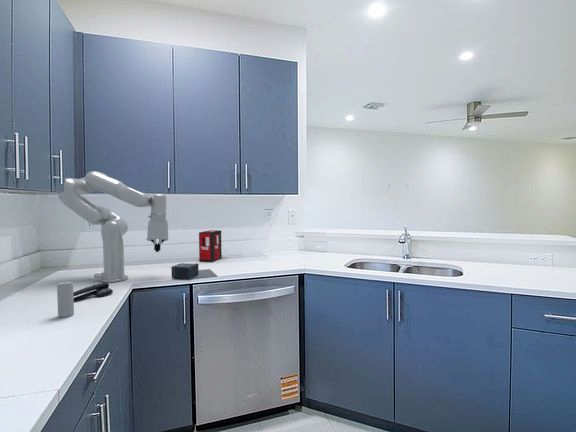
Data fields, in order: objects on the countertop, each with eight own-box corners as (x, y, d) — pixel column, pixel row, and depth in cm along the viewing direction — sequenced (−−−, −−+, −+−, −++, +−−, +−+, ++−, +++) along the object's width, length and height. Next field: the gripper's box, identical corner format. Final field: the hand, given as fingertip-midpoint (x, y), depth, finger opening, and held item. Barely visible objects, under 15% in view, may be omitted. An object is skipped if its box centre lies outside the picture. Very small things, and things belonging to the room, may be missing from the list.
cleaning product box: (211, 262, 226) (211, 232, 225) (199, 262, 228) (198, 232, 227) (221, 258, 242) (221, 230, 241) (210, 258, 244) (209, 230, 243)
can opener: (106, 292, 154) (105, 280, 153) (114, 294, 150) (114, 282, 149) (62, 302, 139) (62, 288, 138) (71, 305, 135) (70, 291, 135)
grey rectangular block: (55, 316, 120) (53, 283, 120) (68, 312, 125) (67, 280, 124) (63, 318, 119) (62, 284, 118) (77, 314, 123) (76, 281, 122)
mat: (182, 279, 176) (182, 279, 176) (178, 272, 194) (178, 271, 194) (217, 276, 184) (217, 275, 184) (209, 269, 202) (209, 269, 202)
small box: (171, 278, 178) (189, 279, 175) (170, 266, 177) (189, 266, 175) (181, 274, 188) (199, 274, 186) (181, 262, 188) (198, 263, 185)
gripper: (143, 217, 173) (142, 253, 173) (173, 217, 179) (172, 252, 180) (142, 216, 180) (141, 250, 180) (172, 217, 186) (171, 250, 186)
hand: (157, 251), depth 180 cm, fingers closed
